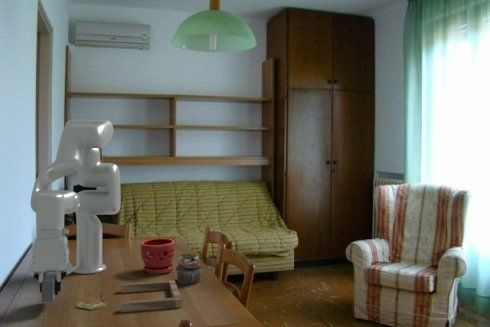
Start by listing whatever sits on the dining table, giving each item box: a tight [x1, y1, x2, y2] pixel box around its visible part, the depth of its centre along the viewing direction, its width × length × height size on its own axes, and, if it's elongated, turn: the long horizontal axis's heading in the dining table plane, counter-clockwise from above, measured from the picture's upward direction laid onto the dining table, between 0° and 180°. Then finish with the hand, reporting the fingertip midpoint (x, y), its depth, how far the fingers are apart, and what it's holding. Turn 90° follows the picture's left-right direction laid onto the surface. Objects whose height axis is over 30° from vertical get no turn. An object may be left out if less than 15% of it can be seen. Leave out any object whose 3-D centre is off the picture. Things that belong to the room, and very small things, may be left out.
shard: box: [76, 293, 107, 311], centre depth 138 cm, size 11×8×2 cm
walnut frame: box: [120, 279, 183, 313], centre depth 142 cm, size 20×18×2 cm
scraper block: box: [41, 272, 57, 303], centre depth 133 cm, size 12×3×6 cm, turn 16°
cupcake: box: [175, 253, 203, 285], centre depth 161 cm, size 10×10×10 cm
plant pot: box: [140, 237, 176, 275], centre depth 174 cm, size 13×13×12 cm
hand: (50, 293), depth 133 cm, fingers closed on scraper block, 3 cm apart
